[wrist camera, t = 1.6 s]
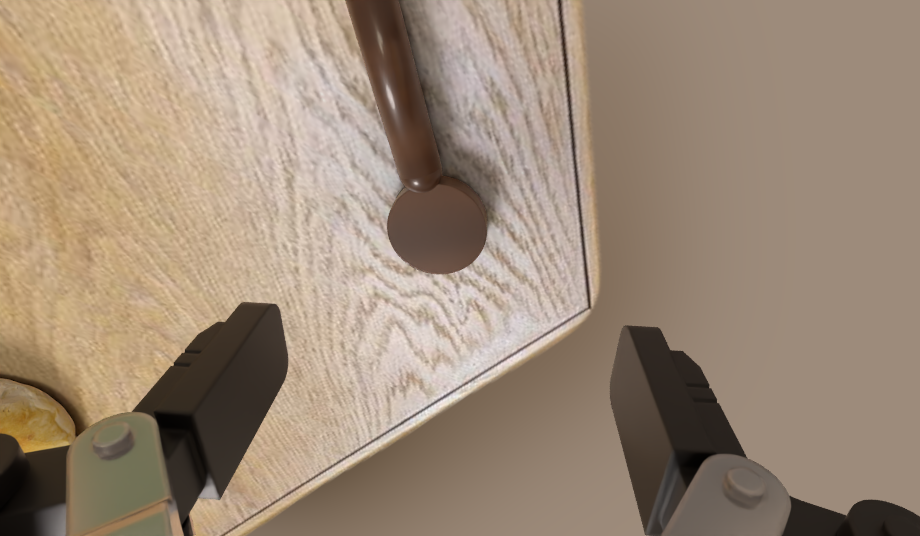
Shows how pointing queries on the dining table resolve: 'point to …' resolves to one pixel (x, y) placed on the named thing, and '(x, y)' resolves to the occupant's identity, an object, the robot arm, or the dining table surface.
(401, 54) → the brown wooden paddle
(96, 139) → the dining table surface
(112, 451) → the robot arm
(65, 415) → the bread roll
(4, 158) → the dining table surface
